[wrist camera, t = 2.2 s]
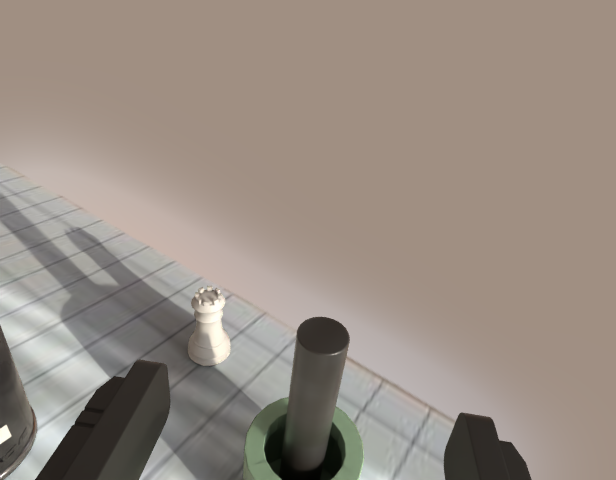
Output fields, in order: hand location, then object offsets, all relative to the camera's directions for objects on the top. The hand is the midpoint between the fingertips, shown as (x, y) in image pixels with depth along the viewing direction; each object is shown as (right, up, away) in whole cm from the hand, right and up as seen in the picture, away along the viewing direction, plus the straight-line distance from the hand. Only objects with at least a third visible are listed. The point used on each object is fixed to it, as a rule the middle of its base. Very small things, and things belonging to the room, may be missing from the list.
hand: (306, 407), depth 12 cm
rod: (-1, -16, +22) cm, 27 cm away
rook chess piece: (-10, -8, +35) cm, 37 cm away
